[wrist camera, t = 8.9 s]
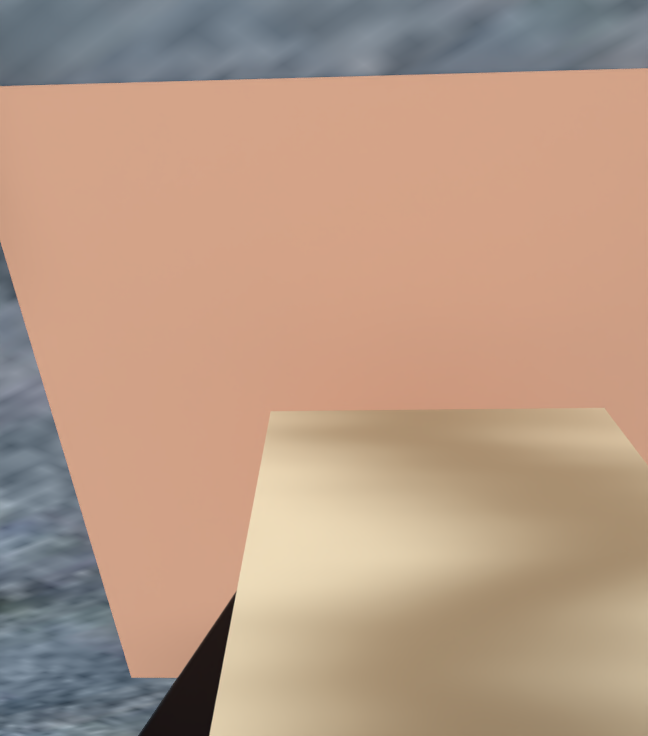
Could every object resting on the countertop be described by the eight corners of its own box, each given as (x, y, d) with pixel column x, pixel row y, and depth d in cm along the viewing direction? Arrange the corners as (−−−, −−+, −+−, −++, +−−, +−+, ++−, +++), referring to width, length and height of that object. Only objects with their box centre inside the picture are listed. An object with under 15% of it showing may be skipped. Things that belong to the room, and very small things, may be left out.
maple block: (603, 408, 9) (1031, 972, 3) (549, 628, 11) (746, 1160, 6) (270, 411, 9) (167, 957, 3) (288, 628, 11) (244, 1145, 6)
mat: (909, 61, 8) (936, 61, 8) (662, 665, 15) (670, 679, 15) (-31, 86, 9) (-46, 87, 8) (136, 663, 15) (131, 677, 15)
